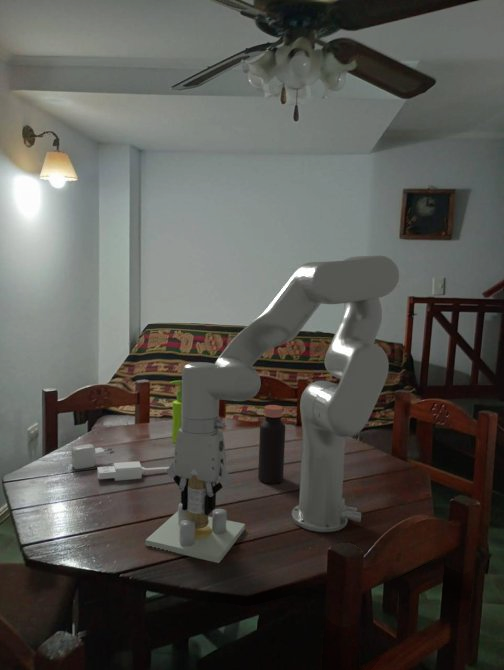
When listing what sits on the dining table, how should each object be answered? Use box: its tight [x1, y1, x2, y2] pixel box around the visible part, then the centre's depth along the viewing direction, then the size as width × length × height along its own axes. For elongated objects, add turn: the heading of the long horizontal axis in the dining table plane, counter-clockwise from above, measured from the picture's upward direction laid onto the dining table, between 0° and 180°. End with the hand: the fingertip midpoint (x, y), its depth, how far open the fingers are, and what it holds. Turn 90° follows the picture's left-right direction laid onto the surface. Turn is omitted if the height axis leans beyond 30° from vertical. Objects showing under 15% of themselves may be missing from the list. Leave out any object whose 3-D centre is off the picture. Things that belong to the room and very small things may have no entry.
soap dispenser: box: [169, 379, 182, 444], centre depth 163 cm, size 6×7×20 cm
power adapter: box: [71, 443, 115, 470], centre depth 141 cm, size 11×5×6 cm, turn 121°
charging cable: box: [96, 460, 170, 482], centre depth 137 cm, size 5×32×3 cm, turn 112°
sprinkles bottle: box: [187, 469, 209, 529], centre depth 103 cm, size 5×5×13 cm
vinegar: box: [257, 404, 286, 485], centre depth 134 cm, size 7×7×20 cm
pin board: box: [145, 502, 246, 564], centre depth 104 cm, size 16×14×5 cm
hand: (198, 508), depth 103 cm, fingers closed on sprinkles bottle, 4 cm apart
